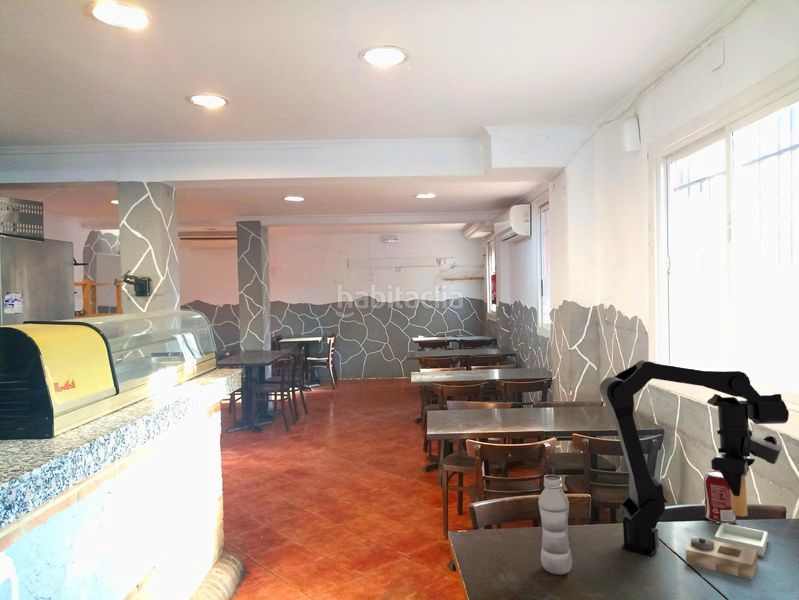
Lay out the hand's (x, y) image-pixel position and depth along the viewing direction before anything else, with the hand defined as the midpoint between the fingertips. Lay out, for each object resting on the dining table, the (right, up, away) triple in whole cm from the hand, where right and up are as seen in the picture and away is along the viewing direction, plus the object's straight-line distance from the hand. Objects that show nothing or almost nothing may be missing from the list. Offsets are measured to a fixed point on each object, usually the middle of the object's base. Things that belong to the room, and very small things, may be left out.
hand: (738, 493), depth 119 cm
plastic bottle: (-43, -14, -6) cm, 46 cm away
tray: (+2, -12, +2) cm, 13 cm away
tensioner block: (-8, -13, -6) cm, 16 cm away
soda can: (+5, -13, +15) cm, 21 cm away
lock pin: (0, -5, 0) cm, 5 cm away
